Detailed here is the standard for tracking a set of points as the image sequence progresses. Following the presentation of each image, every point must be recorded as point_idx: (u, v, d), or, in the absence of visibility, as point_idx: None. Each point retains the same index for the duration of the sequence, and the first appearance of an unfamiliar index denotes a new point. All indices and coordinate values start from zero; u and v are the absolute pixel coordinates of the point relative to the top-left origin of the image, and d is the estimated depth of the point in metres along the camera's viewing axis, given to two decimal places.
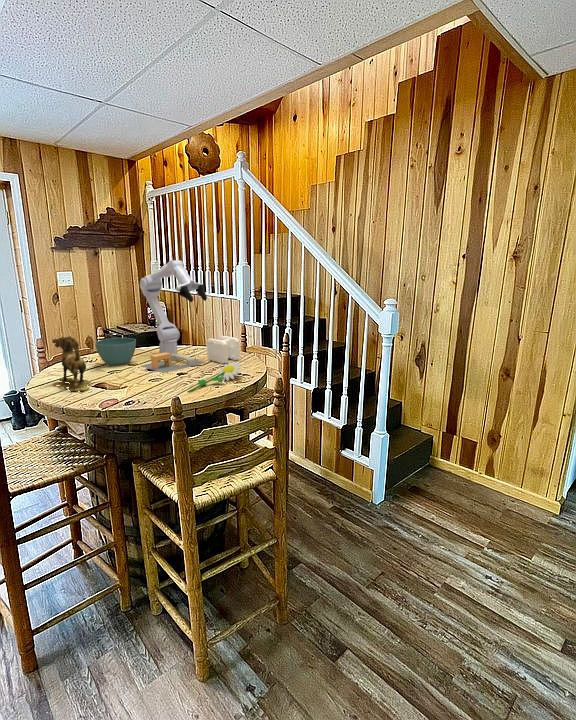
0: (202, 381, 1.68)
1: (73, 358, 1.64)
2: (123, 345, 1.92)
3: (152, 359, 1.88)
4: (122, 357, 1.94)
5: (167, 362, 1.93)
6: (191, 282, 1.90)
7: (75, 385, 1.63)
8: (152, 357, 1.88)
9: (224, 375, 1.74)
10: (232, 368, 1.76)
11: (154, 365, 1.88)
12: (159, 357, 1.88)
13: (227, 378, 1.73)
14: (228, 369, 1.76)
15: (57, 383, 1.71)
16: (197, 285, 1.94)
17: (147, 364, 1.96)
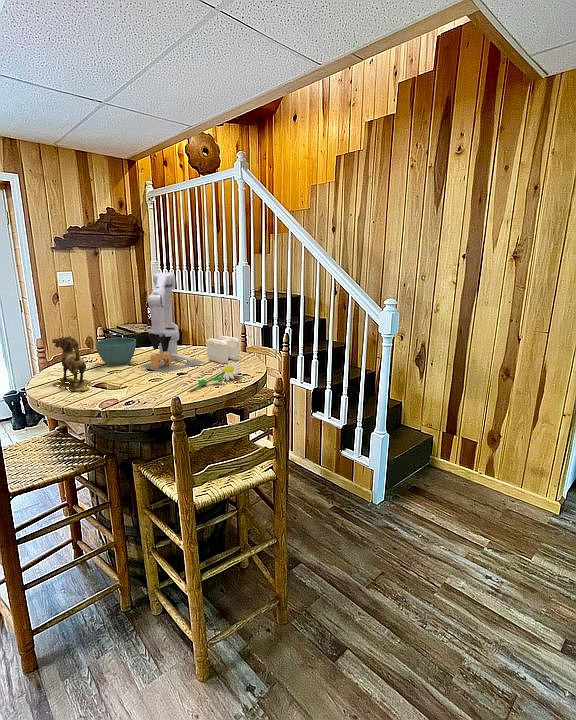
0: (202, 381, 1.68)
1: (73, 358, 1.64)
2: (123, 345, 1.92)
3: (152, 359, 1.88)
4: (122, 357, 1.94)
5: (167, 362, 1.93)
6: (152, 332, 1.86)
7: (75, 385, 1.63)
8: (152, 357, 1.88)
9: (224, 375, 1.74)
10: (232, 368, 1.76)
11: (154, 365, 1.88)
12: (159, 357, 1.88)
13: (227, 378, 1.73)
14: (228, 369, 1.76)
15: (57, 383, 1.71)
16: (161, 333, 1.85)
17: (147, 364, 1.96)
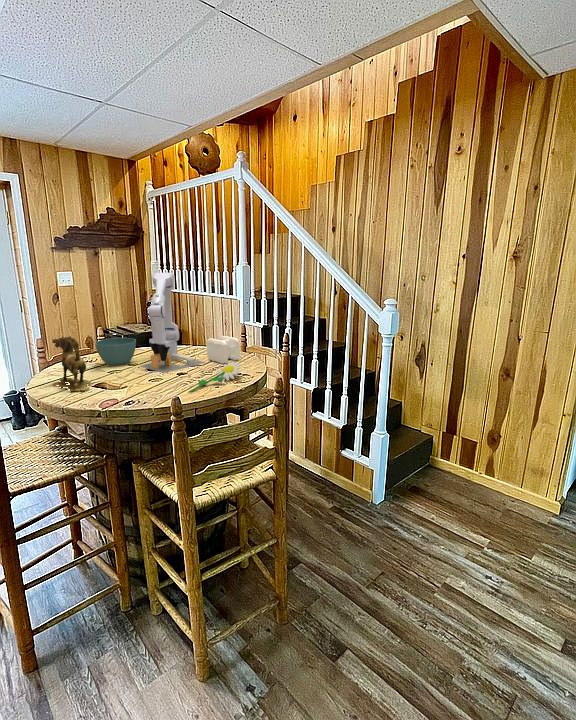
0: (202, 381, 1.68)
1: (73, 358, 1.64)
2: (123, 345, 1.92)
3: (152, 359, 1.88)
4: (122, 357, 1.94)
5: (167, 362, 1.93)
6: None
7: (75, 385, 1.63)
8: (152, 357, 1.88)
9: (224, 375, 1.74)
10: (232, 368, 1.76)
11: (154, 365, 1.88)
12: (159, 357, 1.88)
13: (227, 378, 1.73)
14: (228, 369, 1.76)
15: (57, 383, 1.71)
16: (162, 343, 1.86)
17: (147, 364, 1.96)
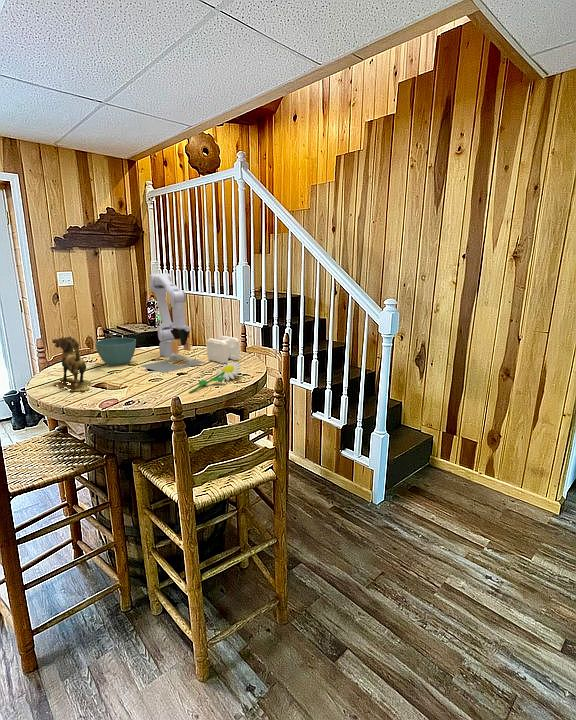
0: (203, 381, 1.68)
1: (73, 358, 1.63)
2: (123, 345, 1.92)
3: (172, 343, 1.95)
4: (122, 357, 1.94)
5: (186, 347, 2.00)
6: (173, 327, 1.94)
7: (75, 385, 1.62)
8: (172, 341, 1.95)
9: (224, 375, 1.74)
10: (232, 368, 1.77)
11: (174, 349, 1.95)
12: (179, 341, 1.95)
13: (227, 378, 1.73)
14: (228, 369, 1.76)
15: (57, 383, 1.71)
16: None
17: (147, 364, 1.96)
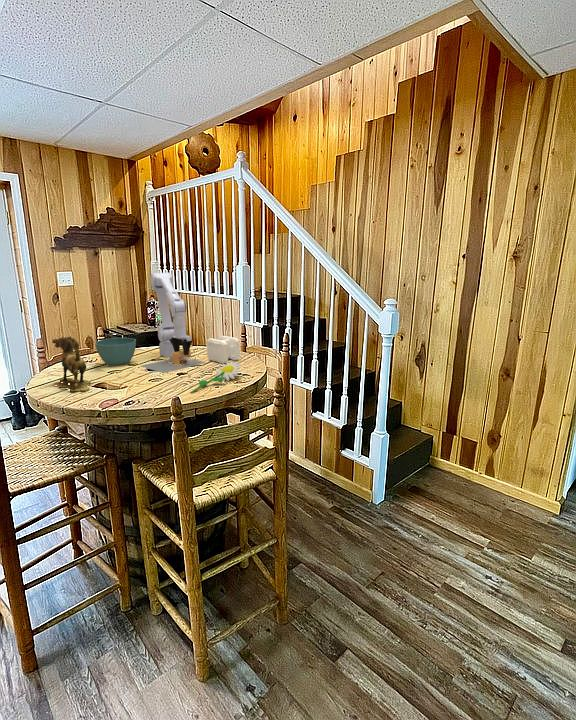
0: (203, 382, 1.67)
1: (73, 358, 1.63)
2: (123, 345, 1.92)
3: (173, 356, 1.97)
4: (122, 357, 1.94)
5: None
6: None
7: (75, 385, 1.62)
8: (173, 354, 1.96)
9: (224, 375, 1.74)
10: (231, 368, 1.77)
11: (176, 362, 1.97)
12: (180, 354, 1.96)
13: (227, 378, 1.73)
14: (227, 369, 1.76)
15: (57, 383, 1.70)
16: (183, 338, 1.94)
17: (147, 364, 1.96)
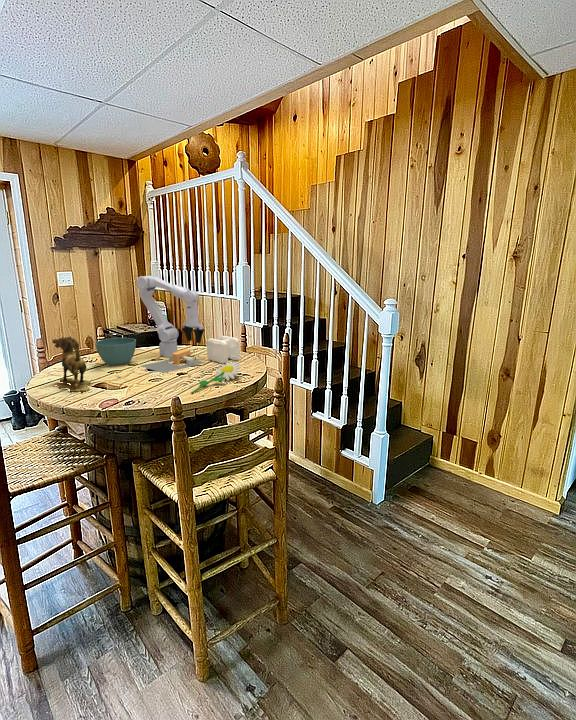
0: (203, 382, 1.67)
1: (73, 358, 1.63)
2: (123, 345, 1.92)
3: (173, 357, 1.97)
4: (122, 357, 1.94)
5: None
6: (187, 326, 2.04)
7: (75, 386, 1.62)
8: (173, 355, 1.96)
9: (224, 375, 1.74)
10: (231, 368, 1.77)
11: (176, 362, 1.97)
12: (180, 354, 1.96)
13: (227, 378, 1.73)
14: (227, 369, 1.76)
15: (57, 384, 1.70)
16: (196, 326, 2.03)
17: (147, 364, 1.96)
